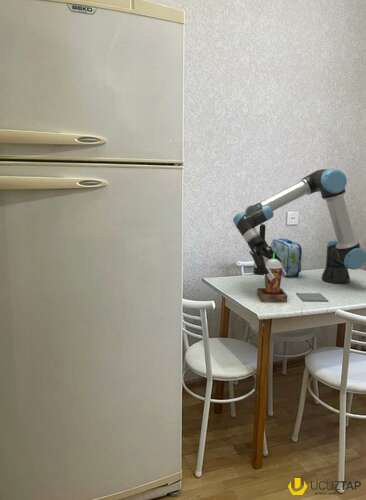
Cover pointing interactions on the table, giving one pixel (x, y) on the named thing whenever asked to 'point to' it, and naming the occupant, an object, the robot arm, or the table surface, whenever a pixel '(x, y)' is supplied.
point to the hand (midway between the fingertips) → (278, 277)
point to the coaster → (312, 297)
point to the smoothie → (276, 270)
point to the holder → (271, 296)
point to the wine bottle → (256, 270)
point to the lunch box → (288, 255)
